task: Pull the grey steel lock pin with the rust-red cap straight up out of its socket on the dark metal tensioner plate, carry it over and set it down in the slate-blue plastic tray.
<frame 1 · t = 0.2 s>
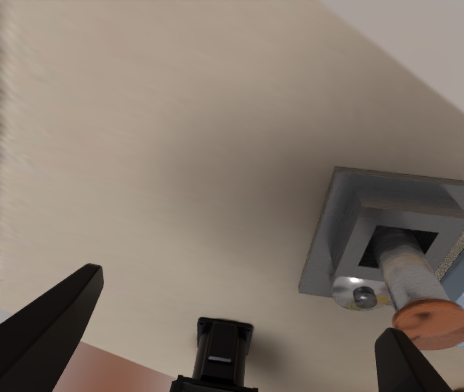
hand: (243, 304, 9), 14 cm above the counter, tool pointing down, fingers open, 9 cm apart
tensioner: (371, 243, 26), on the counter
lock pin: (385, 227, 24), point 1 cm above the counter, touching tensioner
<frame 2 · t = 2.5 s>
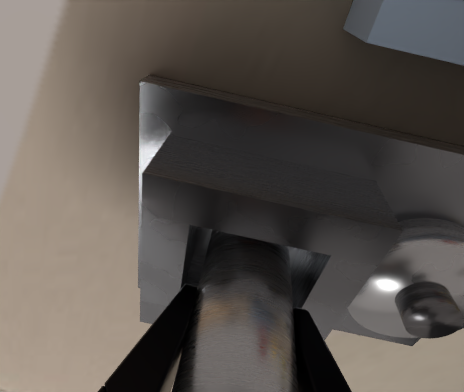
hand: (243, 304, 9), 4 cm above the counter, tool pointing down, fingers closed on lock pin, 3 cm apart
tensioner: (308, 234, 13), on the counter
lock pin: (249, 234, 12), point 1 cm above the counter, touching gripper, tensioner
when the fingers open (5 cm above the counter, at t = 6.2 s): lock pin drops 1 cm, resting on tray.
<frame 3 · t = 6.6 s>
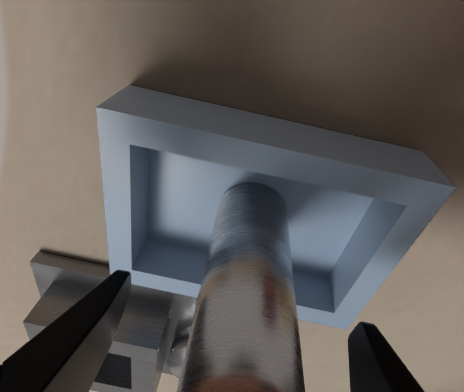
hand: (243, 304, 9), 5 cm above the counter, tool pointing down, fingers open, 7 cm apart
tray: (252, 203, 13), on the counter
tensioner: (156, 323, 20), on the counter
lock pin: (251, 211, 13), point 1 cm above the counter, touching tray
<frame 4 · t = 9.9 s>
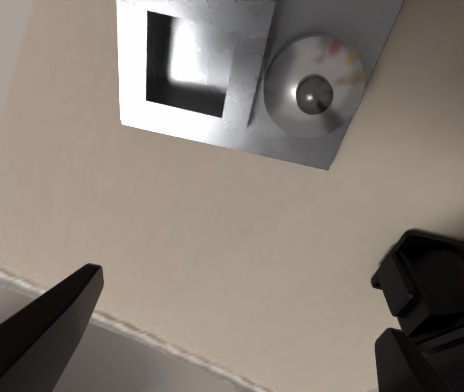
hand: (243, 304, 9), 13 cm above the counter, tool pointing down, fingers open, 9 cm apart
tensioner: (242, 65, 17), on the counter
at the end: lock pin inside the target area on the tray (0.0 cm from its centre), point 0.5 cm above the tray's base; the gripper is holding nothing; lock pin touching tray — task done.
